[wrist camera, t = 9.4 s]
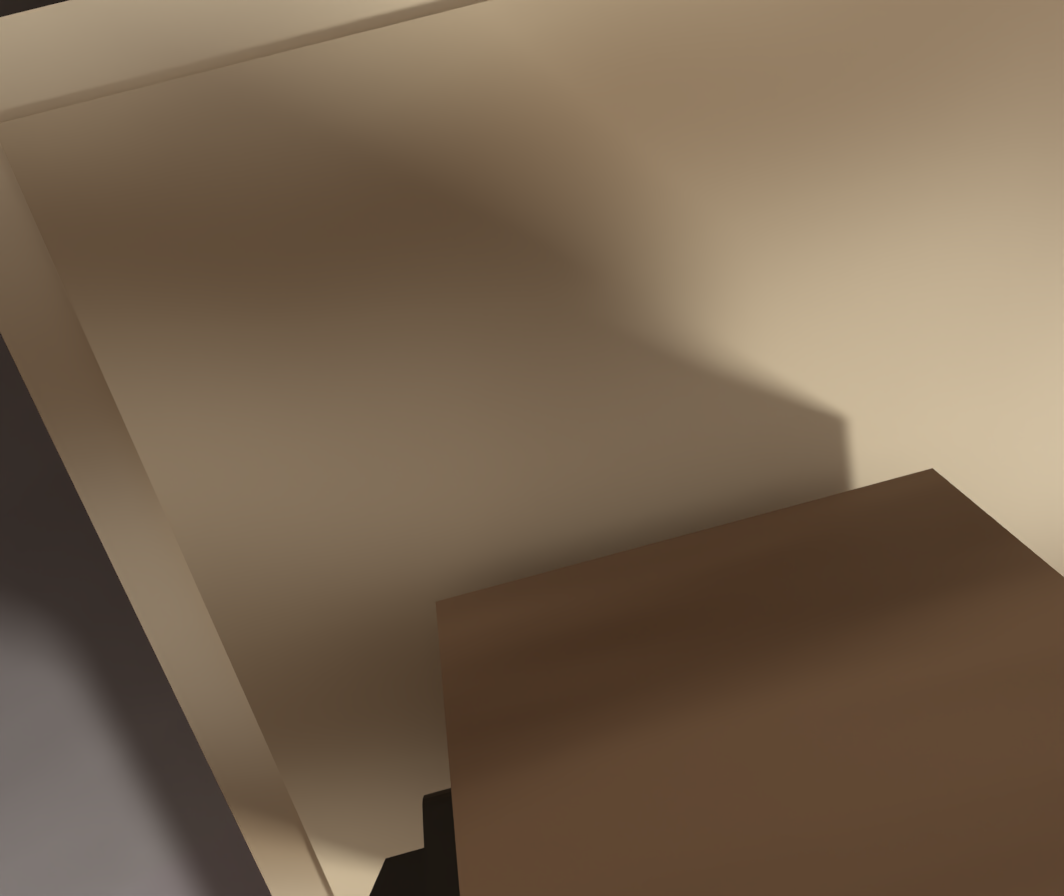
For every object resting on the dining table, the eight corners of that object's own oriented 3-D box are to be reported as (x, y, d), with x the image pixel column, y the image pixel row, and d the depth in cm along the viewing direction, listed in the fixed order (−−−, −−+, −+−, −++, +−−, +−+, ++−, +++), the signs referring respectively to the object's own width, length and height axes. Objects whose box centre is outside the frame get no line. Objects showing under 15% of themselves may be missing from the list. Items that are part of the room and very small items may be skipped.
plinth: (-24, 44, 11) (-143, 51, 8) (1025, -217, 11) (1203, -282, 9) (420, 1064, 18) (425, 1223, 16) (1033, 889, 19) (1129, 1019, 16)
